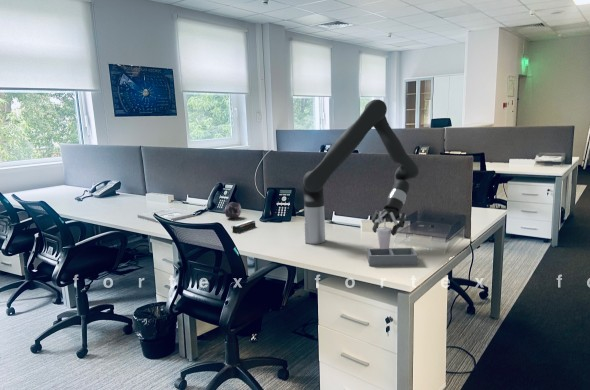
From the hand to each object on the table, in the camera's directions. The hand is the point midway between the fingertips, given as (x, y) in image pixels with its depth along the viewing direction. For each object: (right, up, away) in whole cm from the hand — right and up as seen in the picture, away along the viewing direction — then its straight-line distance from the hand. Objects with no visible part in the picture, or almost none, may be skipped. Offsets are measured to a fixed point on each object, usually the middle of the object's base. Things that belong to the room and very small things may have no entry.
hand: (383, 233), depth 179 cm
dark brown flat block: (-63, -3, +49) cm, 80 cm away
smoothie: (+1, -8, +2) cm, 8 cm away
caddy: (+1, -10, -12) cm, 16 cm away
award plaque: (-119, +2, +90) cm, 149 cm away
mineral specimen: (-74, +2, +76) cm, 106 cm away
